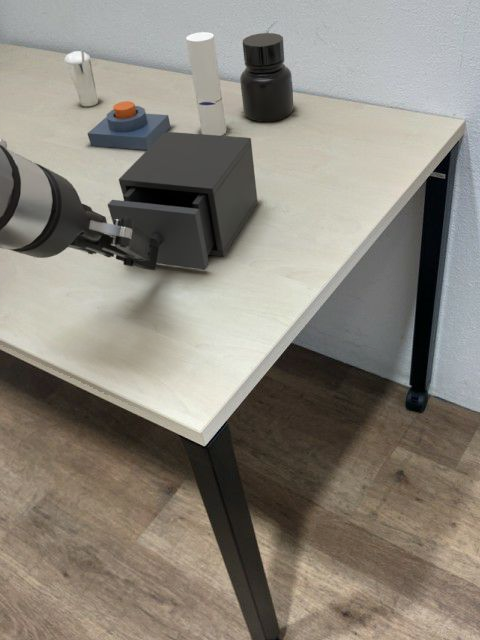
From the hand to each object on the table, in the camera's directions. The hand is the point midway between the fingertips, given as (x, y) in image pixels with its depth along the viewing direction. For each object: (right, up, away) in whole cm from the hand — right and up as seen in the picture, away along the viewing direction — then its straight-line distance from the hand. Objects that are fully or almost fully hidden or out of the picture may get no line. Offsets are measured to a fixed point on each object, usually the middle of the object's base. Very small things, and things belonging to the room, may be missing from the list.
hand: (151, 258), depth 73 cm
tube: (+4, +28, +32) cm, 43 cm away
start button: (-11, +30, +30) cm, 44 cm away
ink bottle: (+13, +33, +36) cm, 51 cm away
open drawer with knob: (+3, +4, +7) cm, 9 cm away
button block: (-10, +28, +33) cm, 44 cm away
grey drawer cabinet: (+4, +7, +11) cm, 14 cm away
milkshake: (-21, +38, +45) cm, 63 cm away
